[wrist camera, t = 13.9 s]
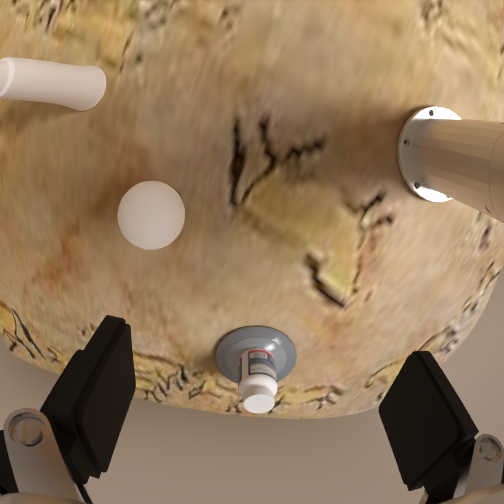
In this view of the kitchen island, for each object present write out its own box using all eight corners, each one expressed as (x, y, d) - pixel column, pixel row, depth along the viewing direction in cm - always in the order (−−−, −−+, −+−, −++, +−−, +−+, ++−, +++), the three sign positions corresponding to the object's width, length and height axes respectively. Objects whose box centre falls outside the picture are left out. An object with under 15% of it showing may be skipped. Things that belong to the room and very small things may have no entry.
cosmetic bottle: (60, 89, 30) (-73, 85, 9) (92, 56, 28) (-36, 20, 8) (81, 120, 31) (-57, 135, 11) (115, 87, 30) (-18, 64, 10)
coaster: (304, 330, 43) (305, 333, 42) (285, 386, 47) (286, 389, 47) (220, 320, 42) (219, 323, 41) (212, 379, 46) (212, 382, 46)
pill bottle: (255, 377, 45) (256, 421, 37) (231, 359, 44) (228, 404, 36) (281, 360, 44) (287, 404, 36) (258, 340, 43) (260, 385, 34)
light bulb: (159, 232, 37) (128, 271, 27) (135, 185, 35) (94, 208, 25) (206, 211, 36) (189, 244, 26) (182, 160, 34) (154, 174, 24)
